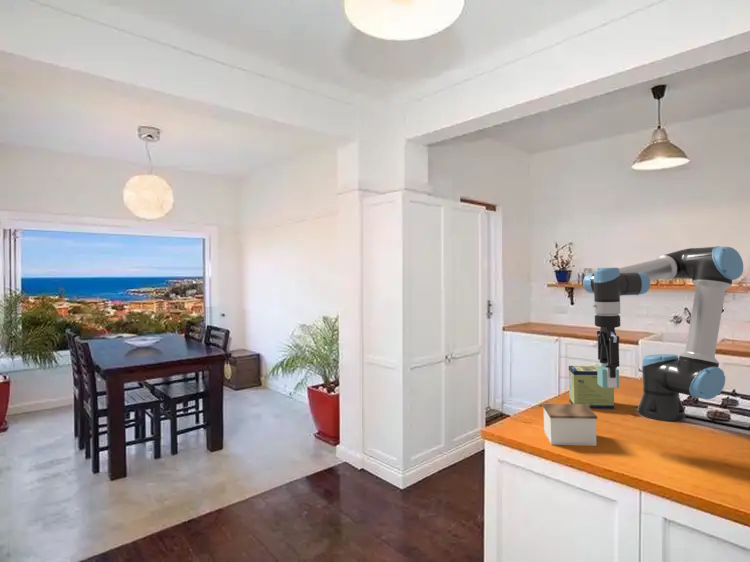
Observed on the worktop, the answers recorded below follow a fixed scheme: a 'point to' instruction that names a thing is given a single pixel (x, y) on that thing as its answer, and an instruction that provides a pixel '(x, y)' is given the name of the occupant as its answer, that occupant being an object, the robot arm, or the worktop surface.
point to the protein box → (588, 388)
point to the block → (604, 376)
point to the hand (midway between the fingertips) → (608, 384)
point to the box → (570, 430)
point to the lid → (569, 411)
